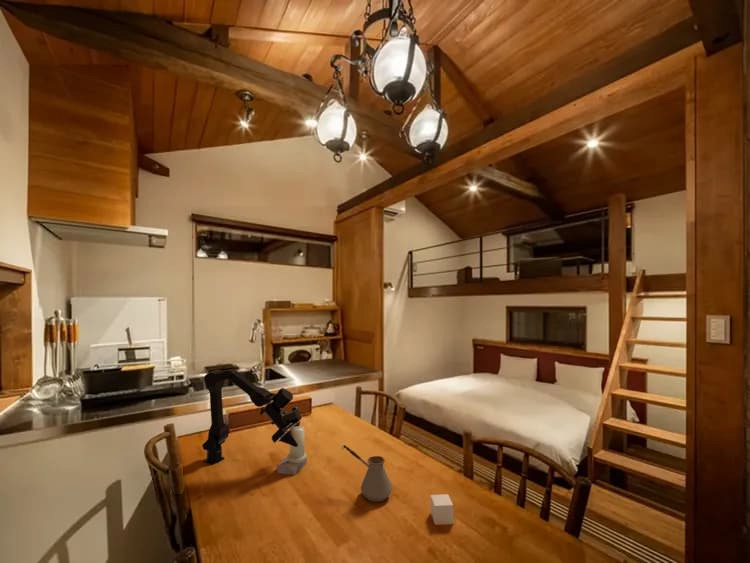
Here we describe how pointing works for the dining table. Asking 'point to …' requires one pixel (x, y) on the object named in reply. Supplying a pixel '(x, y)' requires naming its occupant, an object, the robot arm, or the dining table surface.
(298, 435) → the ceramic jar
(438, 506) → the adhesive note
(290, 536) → the dining table surface
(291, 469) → the stone block
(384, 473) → the coffee pot
